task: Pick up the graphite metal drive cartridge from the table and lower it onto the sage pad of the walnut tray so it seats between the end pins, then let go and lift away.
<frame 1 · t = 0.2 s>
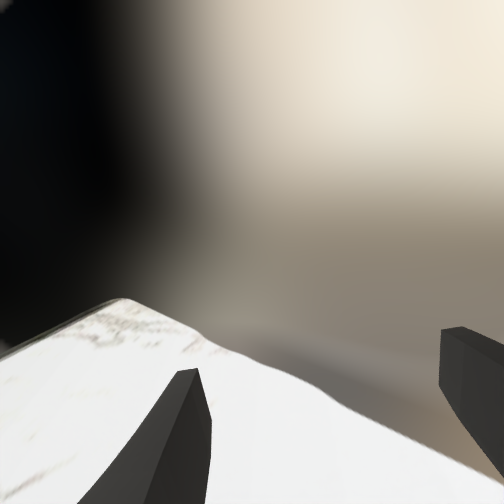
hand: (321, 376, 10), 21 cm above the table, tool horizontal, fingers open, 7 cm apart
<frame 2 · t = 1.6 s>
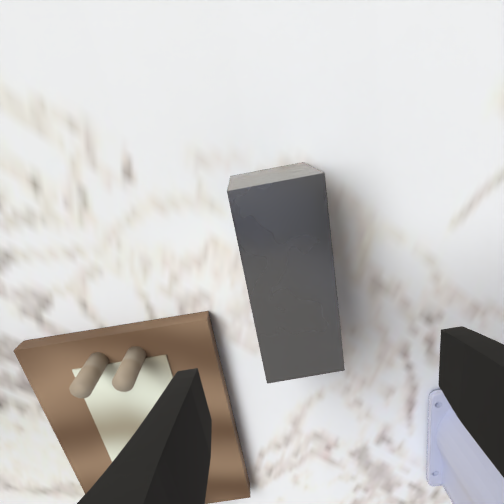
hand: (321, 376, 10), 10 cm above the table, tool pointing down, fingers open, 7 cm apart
pin tray: (149, 420, 24), on the table
drive: (280, 252, 20), on the table
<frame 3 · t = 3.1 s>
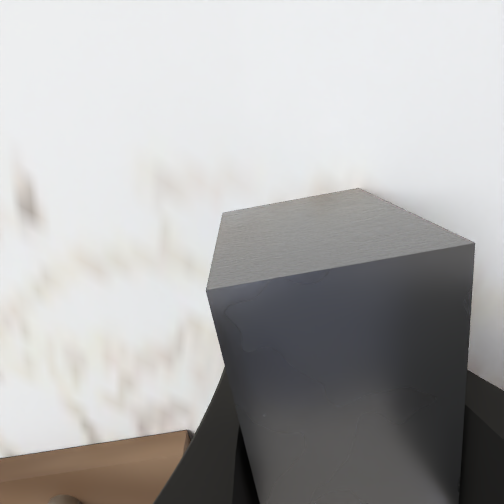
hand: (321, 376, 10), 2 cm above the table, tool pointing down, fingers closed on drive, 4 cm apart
drive: (309, 342, 11), on the table, touching gripper
when the fingers open (4 cm above the table, at t = 6.8 s): drive stays where it is, resting on pin tray.
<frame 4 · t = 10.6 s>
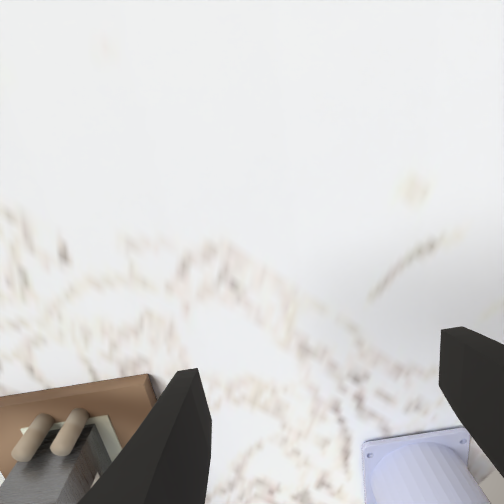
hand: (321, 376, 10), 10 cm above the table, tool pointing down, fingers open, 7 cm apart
pin tray: (99, 469, 25), on the table
drive: (90, 478, 24), point 1 cm above the table, touching pin tray
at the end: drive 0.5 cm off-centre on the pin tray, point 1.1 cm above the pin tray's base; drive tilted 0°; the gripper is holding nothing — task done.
